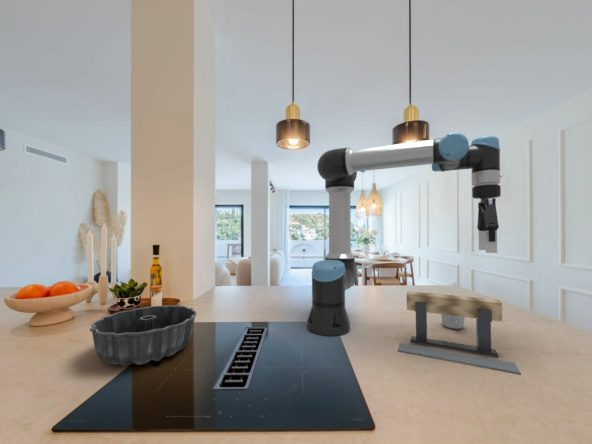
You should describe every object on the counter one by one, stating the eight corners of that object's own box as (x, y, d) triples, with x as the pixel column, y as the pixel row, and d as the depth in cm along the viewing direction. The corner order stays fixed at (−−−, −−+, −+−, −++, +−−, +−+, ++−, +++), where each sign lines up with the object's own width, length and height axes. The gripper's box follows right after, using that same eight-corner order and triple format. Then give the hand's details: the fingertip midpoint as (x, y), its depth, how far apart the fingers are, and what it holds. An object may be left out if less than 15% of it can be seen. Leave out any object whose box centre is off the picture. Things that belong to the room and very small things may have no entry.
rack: (410, 345, 82) (409, 301, 82) (411, 336, 88) (411, 296, 89) (499, 360, 72) (498, 311, 73) (494, 350, 79) (493, 305, 79)
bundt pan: (106, 340, 85) (107, 308, 85) (195, 330, 94) (196, 301, 95) (70, 385, 60) (72, 340, 61) (196, 365, 70) (197, 326, 70)
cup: (473, 334, 90) (472, 310, 91) (447, 332, 92) (446, 309, 92) (460, 323, 101) (460, 302, 101) (437, 322, 102) (437, 301, 103)
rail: (406, 309, 84) (406, 293, 84) (407, 306, 88) (407, 291, 88) (502, 321, 73) (501, 303, 74) (498, 317, 77) (498, 299, 77)
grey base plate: (397, 351, 78) (397, 349, 78) (399, 344, 83) (399, 342, 83) (521, 374, 65) (520, 372, 65) (514, 364, 70) (514, 362, 70)
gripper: (510, 177, 75) (512, 254, 74) (492, 189, 97) (493, 249, 97) (478, 180, 78) (479, 253, 78) (467, 191, 101) (468, 248, 100)
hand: (487, 251), depth 87 cm, fingers open, 13 cm apart
